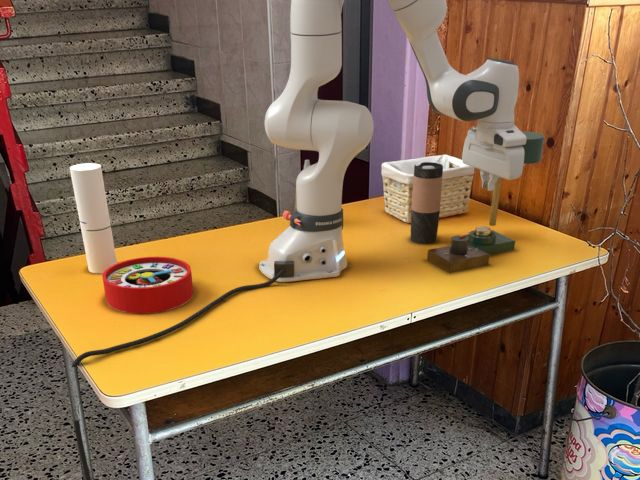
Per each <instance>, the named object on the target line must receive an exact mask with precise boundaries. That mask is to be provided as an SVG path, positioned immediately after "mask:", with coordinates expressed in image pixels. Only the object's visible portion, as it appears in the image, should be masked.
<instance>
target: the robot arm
mask: <svg viewBox="0 0 640 480" xmlns="http://www.w3.org/2000/svg"><path fill="white" fill-rule="evenodd" d="M387 2H388V4H389V6H390V8H391V11H392V13H393V14H394V16H395V18H396V20H397V21H398V24H399V25H400V27H401V29H402V30H403V33H404V34H405V36H406V38H407V40H408V42H409V44H410V47H411V49H412V52H413V54H414V56H415V59H416V61H417V63H418V65H419V67H420V70H421V72H422V75H423V77H424V80H425V86H426V96H427V102H428V104H429V107H430V108H431V110H432V111H434V112H435V113H436V114H438V115H441V116H446V117H450V118H452V119H455V120H458V121H460V122H467V123H468V122H473V121H474V122H475V121H476V126H475V125H472V126H471V127H470V128H469V129H468V130H467V133H466V134H467V135H466V137H465V139H464V144H463V148H462V154H461V160H462V161H463V163H464V164H466V165H469V166H472V167H474V169H477V170H479V175H480V180H481V188H482V189H483V190H486V191H488V192H493V190H494V187H495V183H496V181H497V180H498V178H499V177H502V179H504V180H508V181H511V180H517V179H519V178H520V177H521V176H522V174H523V170H524V167H523V164H524V148H523V146H522V145H525V144H526V140H527V137H526V135H524V134H523V133H522V132H521V131H522V130H520V128H519V127H517V126H516V124H515V120H516V119H515V118H516V116H515V107H516V104H517V102H518V96H519V86H520V69H519V67H518V65H517V64H516V63H515V62H513V61H510V60H506V59H501V58H496V57H490V58H488V59H486V61H485V62H484V63H483V64H482V65H481V66H479V67H477V68H476V69H475V70H473V71H472V72H470V73H467V74H463V73H460V72H459V71H457V70H456V69H454V68H453V66H451V64H450V63H449V60H448V58H447V56H446V53H445V50H444V48H443V46H442V43H441V41H440V37H439V35H438V29H440V27H441V26H442V24H443V23H444V20H445V19H446V15H447V12H448V4H447V0H387ZM344 3H345V0H290V14H289V15H290V16H289V17H290V18H289V19H290V20H289V22H290V23H289V26H290V71H289V77H288V80H287V83H286V85H285V87H284V89H283V91H282V92H281V93H280V95H279V96H278V97H277V98H276V99H275V100H274V101H273V102H271V104H270V105H269V106H268V108H267V110H266V112H265V116H264V130H265V134H266V136H267V138H268V140H269V141H270V143H272V144H273V145H276V146H279V147H282V148H285V149H289V150H298V151H299V150H301V151H314V152H318V161H317V162H315V163H314V164H310V166H309V167H307V168H305V169H304V168H303V169H304V170H303V169H302V170H301V171H300V172H299V173H298V175H297V177H296V180H295V194H296V201H297V208H296V209H295V211H294V210H293V213H292V212H290V211H289V210H284V211H283V213H282V218H283V219H285V220H286V221H289V224H290V225H289V226H287V228H286V229H284V230H283V231H282V232H281V233H280V234H279V235H278V236H277V237H276V238H275V239H273V240H272V241H271V242H270V243H269V246H268V251H267V258H266V259H264V260H261V261H260V262H259V264H258V265H259V266H258V268H259V271H260V272H261V274H263V275H264V276H265V277H266V278H268V279H270V280H268V281H265V282H262V283H258V284H249V285H248V284H247V285H241V286H238V287H235V288H233V289H230V290H228V291H227V292H226V293H224V294H222V295H221V296H219V297H218V298H215V299H214V300H213V301H211V302H210V303H209V304H207V305H205V306H204V307H203V308H201V309H200V310H198V311H197V312H195V313H193V314H192V315H190V316H189V317H187V318H186V319H184V320H181V321H180V322H178V323H176V324H174V325H172V326H170V327H168V328H166V329H163V330H161V331H159V332H155V333H154V334H151V335H148V336H144V337H141V338H139V339H135V340H132V341H129V342H123V343H121V344H117V345H114V346H110V347H106V348H103V349H95V350H89V351H85V352H83V353H81V354H79V355H78V356H76V358H75V359H74V360H73V362H72V364H71V368H76V367H78V366H79V365H80V363H81V362H82V361H83V360H84V359H86V358H89V357H93V356H94V357H95V356H101V355H107V354H111V353H113V352H117V351H121V350H124V349H127V348H131V347H135V346H139V345H142V344H145V343H148V342H151V341H154V340H156V339H159V338H161V337H165V336H166V335H168V334H171V333H173V332H175V331H177V330H179V329H181V328H182V327H185V326H186V325H189V324H190V323H191V322H192V321H194V320H196V319H197V318H199V317H200V316H202V315H203V314H205V313H207V312H208V311H209V310H211V309H212V308H213V307H215V306H217V305H218V304H219V303H221V302H223V301H225V300H226V299H227V298H229V297H230V296H233V295H234V294H236V293H239V292H242V291H247V290H248V291H249V290H254V289H262V288H266V287H268V286H270V285H273V284H274V283H275V282H279V283H288V282H290V283H291V282H297V281H298V282H299V281H308V280H318V279H326V278H327V279H328V278H337V277H339V276H340V275H341V272H342V271H343V270H345V269H346V268H347V267H348V261H347V257H346V252H345V247H344V246H345V245H344V239H343V238H344V237H343V230H344V209H343V207H342V205H343V201H342V200H343V185H344V180H345V179H344V178H345V174H346V171H347V169H348V167H349V166H350V163H351V162H352V160H353V159H354V158H355V157H357V155H358V154H359V153H361V152H362V151H363V150H365V149H366V148H367V147H368V146H369V144H370V142H371V140H372V138H373V135H374V128H375V126H374V125H375V123H374V119H373V116H372V113H371V111H370V110H369V108H368V107H367V106H366V105H362V104H359V103H355V102H352V101H348V100H332V99H331V100H329V99H320V98H318V92H319V87H320V88H321V86H324V85H326V84H327V83H329V82H330V81H332V80H334V79H335V78H336V77H338V75H339V74H340V72H341V71H342V70H341V69H342V66H343V55H342V54H343V43H342V41H343V39H342V38H343V37H342V35H343V32H342V31H343V30H342V29H343V28H342V14H343V13H342V12H343V5H344ZM73 424H74V430H75V436H76V442H77V446H78V451H79V455H80V461H81V465H82V468H83V472H84V478H85V480H92V478H91V477H92V476H91V474H90V469H89V465H88V462H87V455H86V452H85V447H84V441H83V436H82V431H81V425H80V419H77V420H74V421H73Z"/></svg>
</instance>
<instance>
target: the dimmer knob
mask: <svg viewBox="0 0 640 480" xmlns="http://www.w3.org/2000/svg"><path fill="white" fill-rule="evenodd" d="M466 235H467V234H463V236H462V235H460V234H459V235H453V236H451V237H450V245H449V246H450V252H451V253H452V254H457V255H463V254H466V253H467V250H468V241H469V238H468V237H466Z"/></svg>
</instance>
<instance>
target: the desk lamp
mask: <svg viewBox="0 0 640 480" xmlns="http://www.w3.org/2000/svg"><path fill="white" fill-rule="evenodd" d="M520 131H521V132H522V133H523V134H524V135H526V137H527V140H526V144H525V145H522V146H523V148H524V164H523V168H524V167H525V166H526V165H529V164H530V165H533V164H537V163H540V162H541V161H542V157H543V152H544V145H545V144H544V143H545V138H546V136H545V135H544V134H543V133H539V132H536V131H525V130H520ZM502 179H503V178H502V177H499V178H498V180H497V181H496V183H495V187H494V190H493V191H492V196H491V205H490V214H489V223H488V225H489V226H491V227H495V226H497V220H498V219H497V218H498V210H499V204H500V203H499V202H500V196H501V195H500V194H501V186H502Z"/></svg>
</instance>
